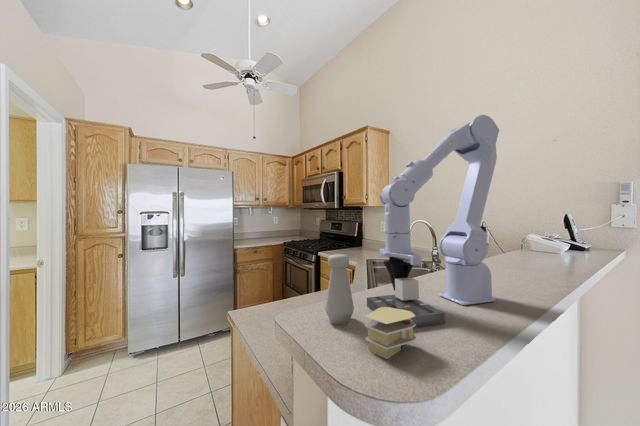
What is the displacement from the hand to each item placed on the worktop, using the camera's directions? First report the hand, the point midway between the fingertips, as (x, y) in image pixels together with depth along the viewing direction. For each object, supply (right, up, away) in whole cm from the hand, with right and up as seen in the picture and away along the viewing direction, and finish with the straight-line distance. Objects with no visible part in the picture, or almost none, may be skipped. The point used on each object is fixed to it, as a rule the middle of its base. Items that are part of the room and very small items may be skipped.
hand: (399, 290), depth 59 cm
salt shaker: (-15, -3, -9) cm, 18 cm away
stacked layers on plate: (-8, -3, -20) cm, 22 cm away
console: (-1, -3, -6) cm, 7 cm away
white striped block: (+1, -1, -3) cm, 3 cm away
